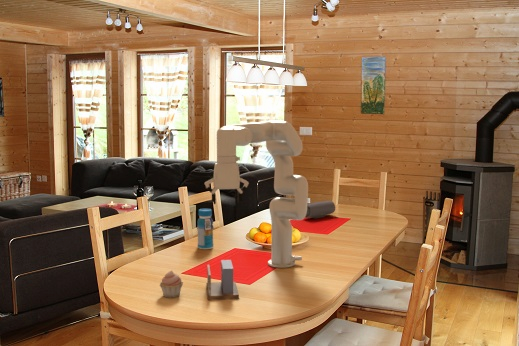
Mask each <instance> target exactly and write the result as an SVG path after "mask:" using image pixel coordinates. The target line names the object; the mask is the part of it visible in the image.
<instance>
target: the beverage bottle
mask: <svg viewBox="0 0 519 346" xmlns="http://www.w3.org/2000/svg"><path fill="white" fill-rule="evenodd" d="M212 211H213V210H212V209H211V208H200V209H198V216H199V218H198V219H197V222H196V223H197V224H196V225H197V226H196V230H197V248H198V249H200V250H210V249H213V248H214V225H213V224H214V220H213V218H212V215H213V212H212Z"/></svg>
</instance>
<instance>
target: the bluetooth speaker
mask: <svg viewBox="0 0 519 346" xmlns="http://www.w3.org/2000/svg"><path fill="white" fill-rule="evenodd" d="M335 211H336V205H335V203H334V201H332V200H323V201H317V202H311V203H307V213H306V216H305V218H306V219H307V218H308V219H310V218H311V219H315V220H316V219H320V218H321V219H322V218H326V216H327V215H330V214H333V213H335Z"/></svg>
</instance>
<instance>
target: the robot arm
mask: <svg viewBox="0 0 519 346" xmlns="http://www.w3.org/2000/svg"><path fill="white" fill-rule="evenodd" d="M264 142H265V147H266V149H267V151H268V153H269V154H270V155H271V157H272V160H273V162H274V179H273V180H274V181H273V189H274V192H275V193H276V194H279V195H283V196H291V197H294V198H290V197H282V196H281V197H280V196H278V197H274V198H273V199H271V201H270V202H269V214H270V220H271V241H270V242H271V245H270V246H271V247H270V249H271V255H270V257H271V258H270V259H269V260H268V261H267V265H268V266H270V267H272V268H276V269H277V268H278V269H280V268H281V269H285V268H291V267H294V266H296V265H295V264H296V261H302V260H303V258H302V256H299V255H293V225H292V223H291V221H290V220H292V221H303V220H304V219H305V218H306V217H305V216H306V213H307V204H308V196H309V183H308V180H307V178H306V177H305V176H304V175H300V174H299V175H298V174H294V162H293V161H294V160H293V159H292V157H297V156H300V155H301V153H303V147H304V145H303V142H302V139H301V136H299V133H298V132H297V130H296V129H295V127H294V126H293V124H291V122H288V121H286V120H264V121H258V122H249V123H241V124H240V123H239V124H230V125H223V126H222V127H220V128H218V129H217V131H216V163H214V165H213V166H214V168H213V177H212V178H210V179H208V180H206V181H205V182H204V185H205V189H207V191H208V192H210V194H211V202H212V203H213V205H216V203H217V202H216V201H217V200H216V197H217V196H216V195H217V194H216V192H217V191H218V190H237V204H241V202H242V196H243V193H244V192H245V191H246V189H247V188H248V186H249V184H250V183H249V181H247V180H246V179H243V178H242V177H240V168H239V163H238V161H241V157H240V156H238V155H237V147H245V146H248V145H249V144H258V143H264ZM212 183H213V188H212V187H210V184H212ZM241 183H243V186H242V187H240V185H241Z"/></svg>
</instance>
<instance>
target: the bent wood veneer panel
mask: <svg viewBox="0 0 519 346" xmlns="http://www.w3.org/2000/svg"><path fill="white" fill-rule="evenodd" d="M206 266H207V267H206V269H207V270H206V271H207V273H206V274H207V281H206V285H205V286H206V295H207V300H208V301H212V300H214V301H215V300H235V299H236V300H237V299H240V294H239V290H238V287H237V283H236V281H233V293H228V294H223V290H222V285H221V281H220V282H219V281H217V282H212V277H211V274H212V273H211V269H210V268H211V267H210V264H207V265H206Z"/></svg>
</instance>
